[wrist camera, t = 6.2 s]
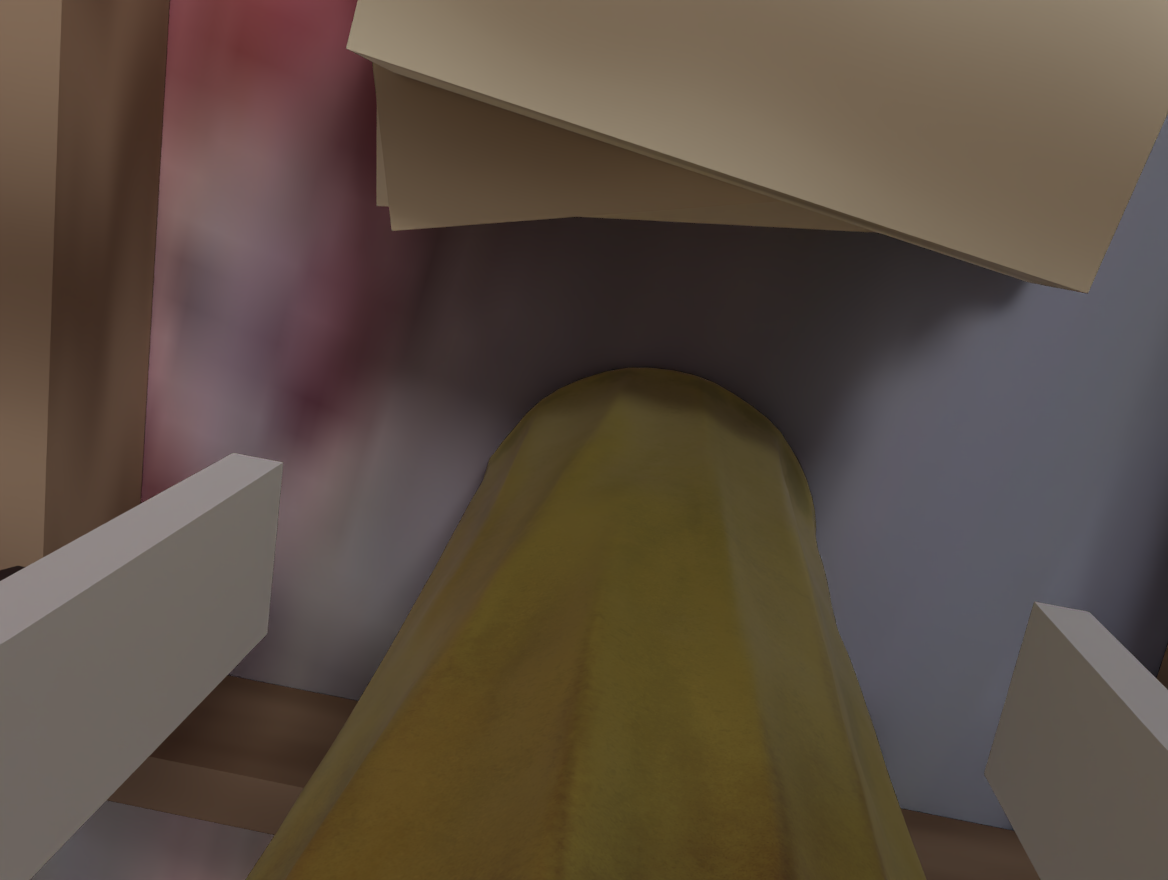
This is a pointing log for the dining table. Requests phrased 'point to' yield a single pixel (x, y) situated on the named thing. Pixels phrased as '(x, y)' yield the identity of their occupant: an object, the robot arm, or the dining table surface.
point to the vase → (614, 672)
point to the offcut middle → (515, 165)
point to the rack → (119, 391)
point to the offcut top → (837, 104)
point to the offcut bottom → (695, 210)
